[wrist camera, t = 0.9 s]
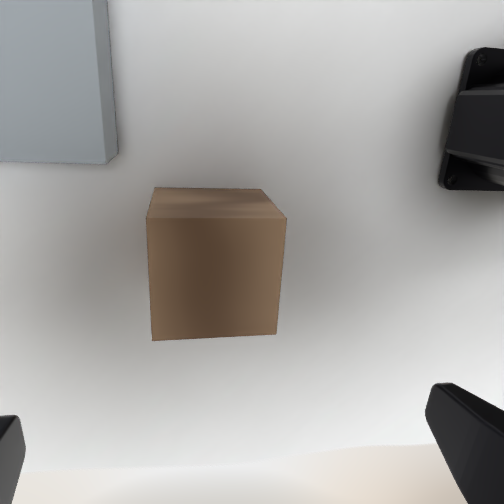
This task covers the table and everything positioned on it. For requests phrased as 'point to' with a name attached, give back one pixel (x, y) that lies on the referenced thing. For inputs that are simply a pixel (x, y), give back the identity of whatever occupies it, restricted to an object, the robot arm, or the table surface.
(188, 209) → the walnut cube
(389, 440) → the table surface
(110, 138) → the grey base
